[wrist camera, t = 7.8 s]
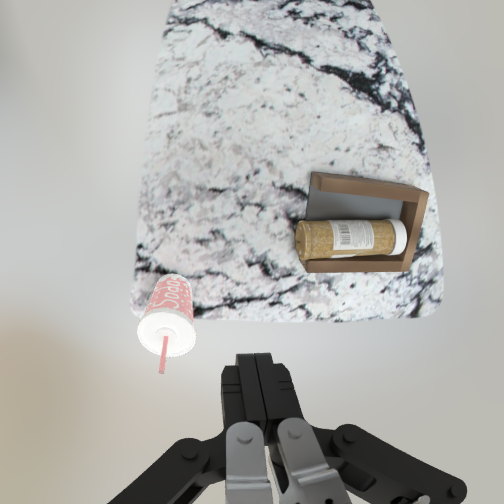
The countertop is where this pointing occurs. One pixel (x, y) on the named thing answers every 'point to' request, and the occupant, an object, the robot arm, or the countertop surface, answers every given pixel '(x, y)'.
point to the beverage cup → (168, 319)
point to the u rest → (365, 217)
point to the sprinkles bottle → (349, 238)
